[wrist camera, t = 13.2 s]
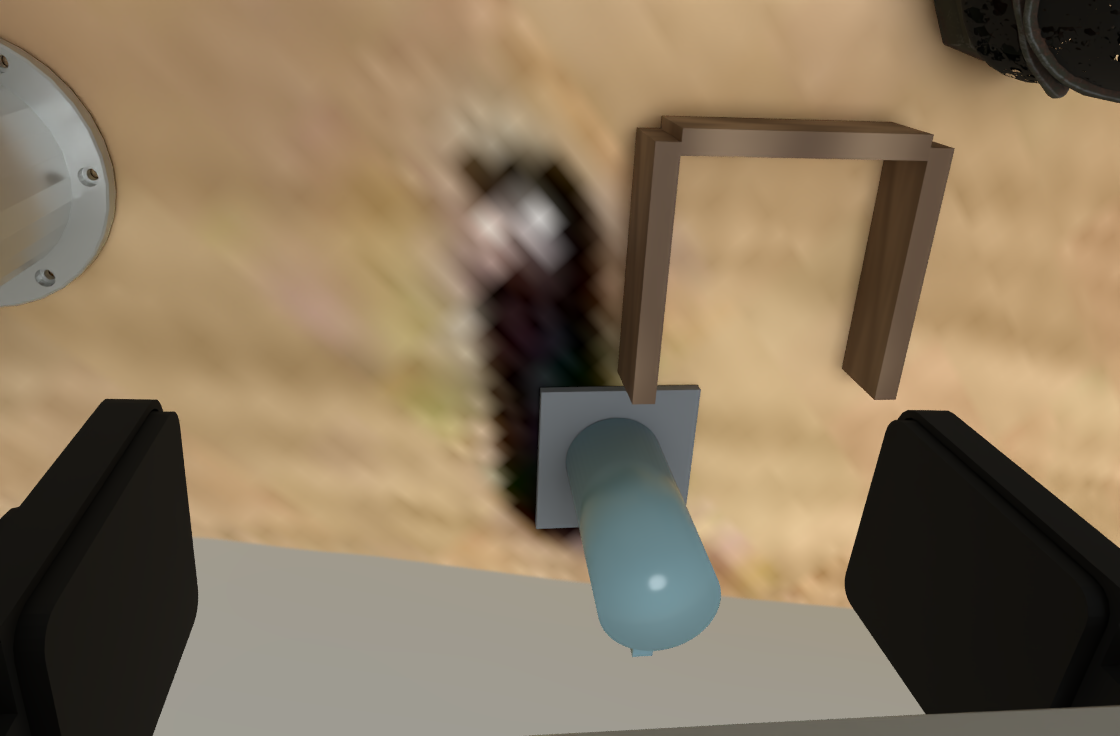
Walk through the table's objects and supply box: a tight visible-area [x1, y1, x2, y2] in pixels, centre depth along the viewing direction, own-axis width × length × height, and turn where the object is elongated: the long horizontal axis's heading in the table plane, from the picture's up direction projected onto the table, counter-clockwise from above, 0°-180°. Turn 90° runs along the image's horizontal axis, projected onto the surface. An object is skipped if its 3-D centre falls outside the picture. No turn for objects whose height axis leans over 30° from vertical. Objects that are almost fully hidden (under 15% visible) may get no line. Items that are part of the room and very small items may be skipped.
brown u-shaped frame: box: [618, 116, 955, 405], centre depth 42 cm, size 14×14×4 cm
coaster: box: [535, 385, 701, 529], centre depth 48 cm, size 9×9×1 cm
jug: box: [566, 418, 721, 657], centre depth 43 cm, size 8×6×12 cm
